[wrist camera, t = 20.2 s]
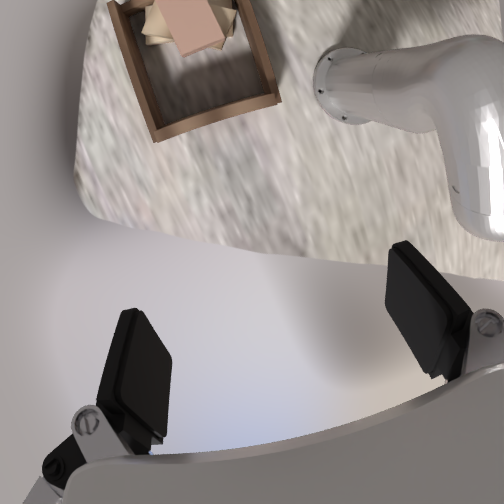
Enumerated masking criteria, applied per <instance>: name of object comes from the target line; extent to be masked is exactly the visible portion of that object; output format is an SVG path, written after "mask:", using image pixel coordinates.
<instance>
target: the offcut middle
mask: <svg viewBox="0 0 504 504" xmlns="http://www.w3.org/2000/svg"><path fill="white" fill-rule="evenodd" d="M209 6H210V8H211V10H212V12H213V14H214V16H215V18H216V20H217V22H218V24H219V26H220V28H221V30H222V33H223V35H224V37H225V40H226V38H227V35H228V33H229V30H230V28H231V25H232V23H233V21H234V18H235V16H236V12H237V10H233V9H229V8H225V7H221V6H217V5H212V4H209ZM142 33H143V34H144V35H146V36H151V37H158V38H164V39H170V40H174V39H173V37H172V35H171V33H170V30H169V28H168V26H167V24H166V22H165V20H164V18H163V16H162V14H161V12H160V9H159V7H158V5H157V3H156V1H154V3H153V5H152V8H151V10H150V12H149V15H148V17H147V20H146V22H145V25H144V27H143V30H142ZM224 43H225V41H223V42H221V43H218V44H215V45H213V46H210V47H208V48H212V49H216V50H220V51H221V50H222V48H223V45H224Z"/></svg>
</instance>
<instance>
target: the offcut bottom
mask: <svg viewBox="0 0 504 504" xmlns="http://www.w3.org/2000/svg"><path fill="white" fill-rule="evenodd" d="M207 1H208V3H209V4H212V5H217V6H221V7H225V8H229V9H232V0H207ZM151 8H152V5H151V6H146V7H145V22H146V20H147V17H148V15H149V12H150V10H151ZM145 36H146V35H145ZM227 37H233V23H232V25H231V28H230V30H229V33H228V35H227ZM171 42H175V41H174V40H170V39H164V38H158V37H151V36H146V45H147V46H152V45H158V44H164V43H171Z"/></svg>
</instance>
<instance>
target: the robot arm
mask: <svg viewBox="0 0 504 504" xmlns="http://www.w3.org/2000/svg"><path fill="white" fill-rule="evenodd" d="M328 58H330V61H329V60H328ZM313 88H314V93H315V96H316V98H317V101H318V102H319V104H320V106H321V107H322V109H323V110H324V111H325V112H326V113H327V114H328V115H330V116H331V117H332V118H334V119H336V120H338V121H340V122H342V123H346V124H351V125H360V124H365V123H368V122H370V121H375V122H378V123H382V124H385V125H388V126H392V127H395V128H398V129H402V130H405V131H408V132H412V133H428V132H432V131H434V130H436V129H437V133H438V137H439V141H440V146H441V149H442V152H443V158H444V163H445V169H446V175H447V181H448V188H449V193H450V200H451V205H452V209H453V212H454V215H455V217H456V219H457V221H458V223H459V224H460V225H461V226H462V227H463V228H464V229H465V230H466V231H467V232H469V233H470V234H472V235H474V236H476V237H479V238H482V239H485V240H490V241H499V242H504V43H503V42H502V41H500V40H498V39H496V38H493V37H490V36H486V35H474V34H472V35H463V36H457V37H453V38H450V39H446V40H443V41H440V42H436V43H432V44H428V45H424V46H418V47H411V48H402V49H395V50H387V51H379V52H373V53H366V52H364V51H362V50H360V49H356V48H340V49H336V50H333V51H331V52H329V53H328V54H326V55H325V56H324V57H323V58H322V59H321V60H320V62H319V63H318V64H317V67H316V69H315V71H314V77H313ZM318 90H321V92H320V93H319V92H318ZM342 116H343V117H344V118H343V119H342ZM385 306H386V309H387V311H388V313H389V314H390V316H391V317H392V319H393V321H394V322H395V324H396V326H397V327H398V329H399V331H400V332H401V334H402V335H403V337H404V339H405V341H406V342H407V344H408V346H409V347H410V349H411V350H412V352H413V354H414V356H415V358H416V359H417V361H418V363H419V365H420V366H421V368H422V370H423V372H424V373H426V374H427V373H428V374H429V375H430V377H431V379H433V378H435V377H437V376H439V375H441V374H442V375H443V376H444V378H445V384H444V385H442V386H440V387H438V388H436V389H434V390H432V391H430V392H428V393H425V394H423V395H421V396H419V397H416V398H414V399H412V400H409V401H407V402H405V403H402V404H400V405H398V406H395V407H392V408H390V409H388V410H385V411H382V412H379V413H377V414H374V415H371V416H368V417H366V418H363V419H360V420H357V421H354V422H350V423H348V424H344V425H341V426H338V427H334V428H331V429H327V430H324V431H320V432H316V433H312V434H309V435H305V436H300V437H296V438H291V439H287V440H282V441H277V442H272V443H267V444H261V445H255V446H249V447H243V448H236V449H228V450H220V451H210V452H198V453H183V454H162V455H154V454H153V453H152V452H151V451H150V450H151V445H158V444H163V437H166V435H167V423H168V407H169V394H170V382H171V371H172V358H171V355H170V354H169V352H168V351H167V349H166V347H165V346H164V344H163V343H162V341H161V340H160V338H159V337H158V335H157V333H156V332H155V330H154V329H153V327H152V325H151V324H150V322H149V320H148V319H147V317H146V315H145V314H144V312H143V311H139V310H138V309H137V308H132V309H128V310H123V311H122V312H121V314H120V317H119V320H118V323H117V327H116V330H115V333H114V336H113V339H112V343H111V346H110V349H109V353H108V356H107V360H106V363H105V367H104V371H103V374H102V378H101V382H100V386H99V390H98V394H97V398H96V400H97V402H96V406H95V405H87V406H84V407H82V408H80V409H79V410H78V411H77V412H76V413H75V415H74V417H73V419H72V422H71V429H72V432H73V434H72V435H70V436H69V437H68V438H67V439H66V440H65V441H63V442H62V443H61V444H60V445H59V446H58V447H57V448H55V449H54V450H53V451H52V452H51V453H50V454H48V455H47V457H46V458H45V459H44V462H43V465H42V473H43V476H44V477H41V476H39V478H38V480H37V481H36V483H35V484H34V486H33V488H32V489H31V491H30V492H29V494H28V496H27V497H26V499H25V500H24V502H23V504H504V319H503V317H502V316H501V315H500V314H499V313H497V312H496V311H494V310H491V309H480V310H478V311H476V312H475V313H473V312H472V311H471V309H470V307H469V306H468V305H467V304H466V303H465V301H464V300H463V299H462V298H461V297H460V296H459V294H458V293H457V292H456V291H455V290H454V289H453V288H452V286H451V285H450V284H449V283H448V282H447V281H446V280H445V279H444V278H443V276H442V275H441V274H440V273H439V272H438V271H437V270H436V269H435V268H434V267H433V266H432V265H431V264H430V263H429V261H428V260H427V259H426V258H425V257H424V256H423V255H422V254H421V253H420V252H419V251H418V250H417V249H416V248H415V247H414V246H413V245H412V244H411V243H410V242H409V241H407V240H405V241H402V242H398V243H395V244H393V245H392V249H389V254H388V272H387V285H386V295H385Z"/></svg>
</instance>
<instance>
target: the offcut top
mask: <svg viewBox="0 0 504 504" xmlns="http://www.w3.org/2000/svg"><path fill="white" fill-rule="evenodd" d="M155 1H156V3H157V5H158V7H159V9H160V12H161V14H162V16H163V18H164V20H165V22H166V24H167V26H168V28H169V30H170V33H171V35H172V37H173V39H174V41H175V43H176V45H177V47H178V50H179V52H180V54H181V56H182V57H186V56H189V55H191V54H193V53H196V52H198V51H200V50H203V49H205V48H208V47H210V46H213V45H215V44H218V43H221V42H223V41H225V37H224V35H223V33H222V30H221V28H220V26H219V24H218V22H217V20H216V18H215V16H214V14H213V12H212V10H211V8H210V6H209V3H208V1H207V0H155Z"/></svg>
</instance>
